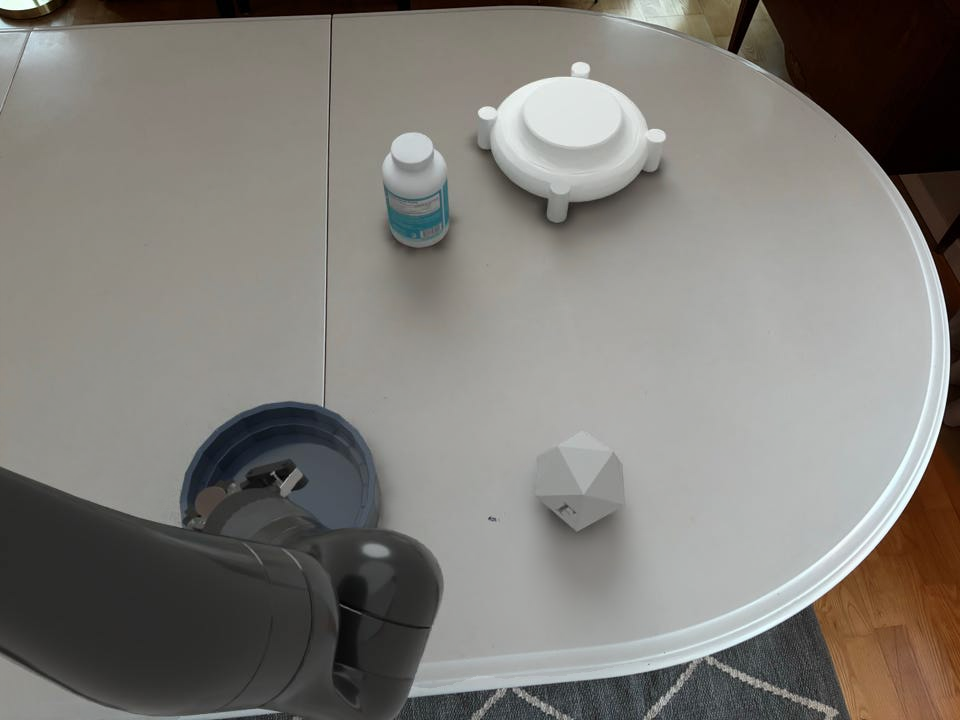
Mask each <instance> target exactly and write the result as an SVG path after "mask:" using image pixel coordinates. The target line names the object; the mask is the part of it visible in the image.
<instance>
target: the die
mask: <svg viewBox="0 0 960 720" xmlns="http://www.w3.org/2000/svg"><path fill="white" fill-rule="evenodd" d="M535 474H536V475H535V493H534V495H535V496H534V497H536V498H537V499H538V500H539V501H541V502H542V503H543V504H544V505H545V506H547V508H549V510H551V511H552V512H553V513H554V514H556V516H558V517H559V518H560V519H561V520H562V521H563V522H565V523H566V524H567V525H568V526H569V527H570V528H572V529H573V530H574V531H575V532H579V531H581V530H583V529H584V528H587V527H588V526H590V525H592V524H593V523H595V522H597V521H599V520H601V519H603V518H604V517H607V516H608V515H610V514H612V513H613V512H615V511H617V510H619V509H621V508H622V507H624V506H626V496H625V479H624V464H623V462H622V461H621V460H620V459H619V457H618V456H617V454H616V452H615V451H613V450H612V449H611V448H610V447H608V446H607V445H605V444H604V443H602V442H601V441H599V440H598V439H596V438H595V437H593V436H592V435H590V434H589V433H588V432H586V431H585V430H581V431H579V432H577V433H576V434H574V435H572V436H571V437H568V438H567V439H565V440H564V441H562V442H560V443H558V444H557V445H555V446H553V447H551V448H549V449H548V450H546V451H544V452H543V453H540V454H539V455H537V457H536V473H535Z"/></svg>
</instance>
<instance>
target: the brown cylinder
mask: <svg viewBox="0 0 960 720" xmlns="http://www.w3.org/2000/svg"><path fill="white" fill-rule="evenodd" d="M227 497H228V496H227V493H226V492H225V490H223V489H222V488H220V487H215V486H213V487H208V488H206V489H204V490H202V491H201V492H200V493H199V494H198V495H197V497H196V499H195V510H196V512H197V513H198V514H199V515H200V517H202V516H203V515H204V516H209V515H210V513H211V512H212V511H213V509H214V508H215V507H216V506H217V505H218V504H219V503H220V502H221V501H223V500H224V499H225V498H227Z"/></svg>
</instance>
